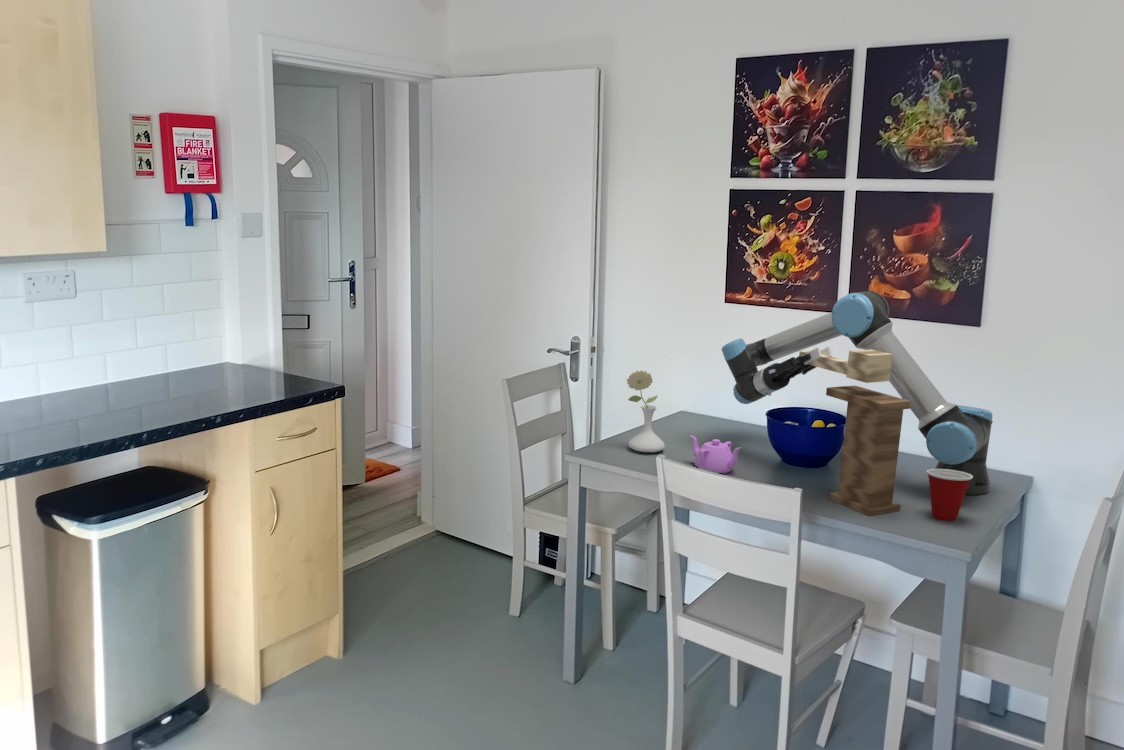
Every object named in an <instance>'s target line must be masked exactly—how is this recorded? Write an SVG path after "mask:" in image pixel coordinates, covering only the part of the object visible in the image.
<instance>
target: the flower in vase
mask: <svg viewBox="0 0 1124 750" xmlns="http://www.w3.org/2000/svg"><path fill="white" fill-rule="evenodd" d="M626 382H627V385H628V388H630V389H632V390H634V391H640V396H639V395H631V396H630V397H629V398H628V399H627V401H631V402H634V403H638V402H640V401H641V400H642V401H643V403H644V405H641V406H640V409H641V410H642V412H643V419H644V423H643V428H642V430H641V431H640V432H638V434H636V435H634V436H633V437H632V438H631V439H629V441H628V443H627V445H628V447H629V448H630V449H633V450H634V451H637V452H639V453H640V452H641V453H657V452H661V451H663V450H664V449H665V447H666V445H665V442H664V441H663V440H662V439H661V438H660V437H659V436H658V435H657V434H656V433H654V431H653V428H652V423H653V422H652V421H653V416H654V413H655V411H656V410H657V408H658V407H657V406H656V405H653V404H650V403H653V402H654V401H656V400H657V399H658V395H655V396H652V397H648V398H647V399H646V401H645V399H644V398H643V393H642V390H645V389H648V388H650V386H651V385H652V384H653V382H654V381H653V377H652V375H651V373H648V372H647V371H646V370H644V371H643V370H636V371H635V372H634V371H633V372H632V373H631V374H630V375H628V378H626Z"/></svg>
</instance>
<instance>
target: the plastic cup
mask: <svg viewBox="0 0 1124 750" xmlns="http://www.w3.org/2000/svg"><path fill="white" fill-rule="evenodd" d="M926 474H927V477H928V483H929V492H930V493H929V494H930V496H929V497H930V505H931V506H930V508H931V516H932V517H933V518H934V519H936V520H939V521H942V522H943V521H944V522H955V521H957V519H958V516H959V514H960V511H961V508H962V505H963V502H964V499H965V496H966V494H965V493H966V490H967V488H968V485H969V483H970V481H971V479H972V478H973V476H972V475H971V474H968V473H965V472H961V471H956V470H949V469H935V468H930V469H927V470H926Z"/></svg>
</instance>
